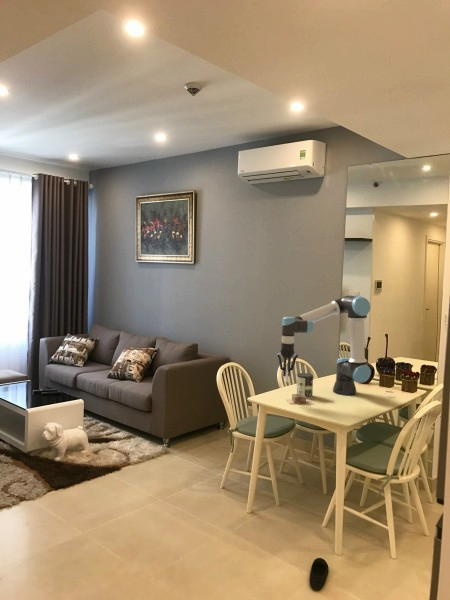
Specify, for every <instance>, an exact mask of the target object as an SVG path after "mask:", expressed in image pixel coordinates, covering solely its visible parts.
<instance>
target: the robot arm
mask: <svg viewBox="0 0 450 600" xmlns="http://www.w3.org/2000/svg"><path fill="white" fill-rule="evenodd" d="M370 311H371V303H370V301H369V300H368V299H367V298H366V297H364V296H359V295H346V296H342V297H339V298H336V299H334V300H331V302H330V303H327V304H325V305H323V306H321V307H318V308H316V309H313V310H311V311H308V312H305V313H303V314H300V315H298V316H295V317H294V316H283V317H282V320H281V322H282V323H281V325H282V326H281V344H280V345H281V346H280V347H281V348H280V349H281V350H280V352H279V353H276V357H277V358H278V365H279V368H280V371H282V376H283V377H284V383H288V382H289V377H290V375H291V371H293V370H294V369H295V368H294V367H295V364H296V361H297V358H298V357H299V355H298V354H297V353H296V352H295V335H296V334H308V333H312V332H313V331H314V327H315V326H314V323H316V322H319V321H323V320H324V319H327V318H329V317H332V316H334V315H336V316H339V315H341V314H347V319H348V320H349V321H350V323H349V325H350V326H349V327H350V331H349V333H350V344H349V345H350V357H338V358H337V360H336V373H335V375H336V376H335V382H334V384H333V387H332V392H333V393H335V394H338V395H343V396H353V395H356V394H357V387H356V384H355V382H356V383H359V384H361V383H366V382H367V381H368V380H369V379H370V377H371V374H372V370H371V368H370V366H368V359H366V358H365V354H366V353H365V351H366V349H365V346H366V345H365V320H366V319H367V318H368V314H369V312H370ZM281 357H282V358H283V359H282V358H281ZM292 357H293V358H292ZM282 360H283V361H282Z"/></svg>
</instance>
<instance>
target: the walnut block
mask: <svg viewBox="0 0 450 600" xmlns="http://www.w3.org/2000/svg"><path fill="white" fill-rule="evenodd" d="M291 400H292V401H293V403H294V404H306V400H307V398H306V396H305V395H304V394H297V393H291Z"/></svg>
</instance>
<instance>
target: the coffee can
mask: <svg viewBox="0 0 450 600" xmlns="http://www.w3.org/2000/svg"><path fill="white" fill-rule="evenodd" d="M313 386H314V374H311V373H307V372H306V373H305V372H301V373H296V394H304V395H305V396H306V399H311V398H313V391H314V390H313V389H314V387H313Z"/></svg>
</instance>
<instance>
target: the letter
mask: <svg viewBox="0 0 450 600" xmlns="http://www.w3.org/2000/svg"><path fill="white" fill-rule="evenodd" d="M285 401H286V402H287V404H288V405H289V406H317V405H316V403H315V402H314V401H313V400H312V399H306V404H294V403H293V401H292V399H285Z"/></svg>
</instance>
